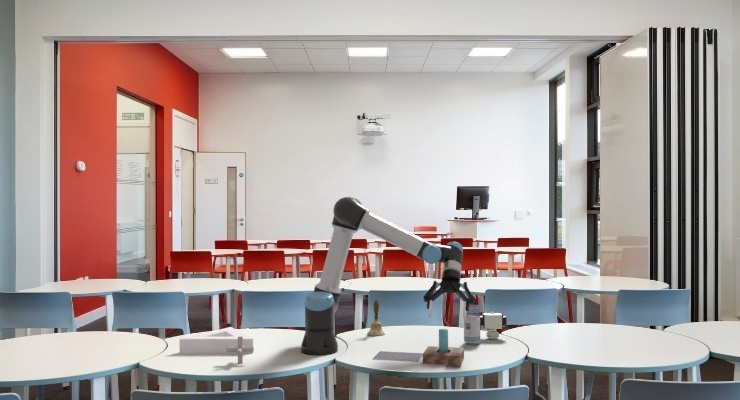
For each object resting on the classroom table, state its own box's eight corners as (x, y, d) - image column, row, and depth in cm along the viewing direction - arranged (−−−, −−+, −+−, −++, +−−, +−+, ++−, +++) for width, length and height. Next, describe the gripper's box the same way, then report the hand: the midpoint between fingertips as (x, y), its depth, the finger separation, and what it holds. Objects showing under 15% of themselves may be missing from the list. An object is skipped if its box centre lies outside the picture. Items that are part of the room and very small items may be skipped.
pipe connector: (228, 360, 245) (228, 334, 246) (255, 359, 246) (254, 333, 246) (224, 366, 235) (224, 339, 236) (252, 366, 236) (251, 339, 236)
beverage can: (483, 344, 271) (483, 316, 271) (469, 345, 268) (469, 317, 268) (474, 341, 277) (474, 313, 277) (461, 342, 274) (460, 315, 275)
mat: (371, 360, 243) (371, 359, 243) (379, 352, 257) (379, 351, 257) (418, 363, 239) (418, 361, 239) (423, 354, 252) (423, 353, 252)
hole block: (422, 364, 236) (422, 354, 236) (428, 356, 250) (428, 346, 250) (460, 366, 233) (460, 356, 233) (464, 358, 247) (463, 347, 247)
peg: (438, 362, 240) (438, 330, 240) (439, 360, 244) (439, 328, 244) (447, 362, 239) (447, 330, 240) (448, 360, 243) (448, 329, 243)
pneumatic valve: (506, 339, 280) (506, 312, 280) (480, 339, 281) (479, 312, 281) (504, 337, 286) (504, 310, 286) (478, 336, 286) (478, 310, 287)
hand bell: (388, 333, 295) (388, 299, 295) (378, 336, 288) (378, 301, 288) (373, 331, 300) (373, 298, 300) (363, 334, 293) (363, 300, 293)
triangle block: (179, 354, 258) (179, 339, 258) (197, 341, 284) (197, 326, 284) (253, 354, 258) (252, 338, 258) (264, 340, 284) (264, 326, 284)
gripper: (482, 280, 264) (479, 323, 249) (423, 278, 270) (416, 320, 255) (481, 269, 259) (478, 311, 244) (420, 267, 265) (414, 309, 250)
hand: (446, 316), depth 250 cm, fingers open, 13 cm apart
